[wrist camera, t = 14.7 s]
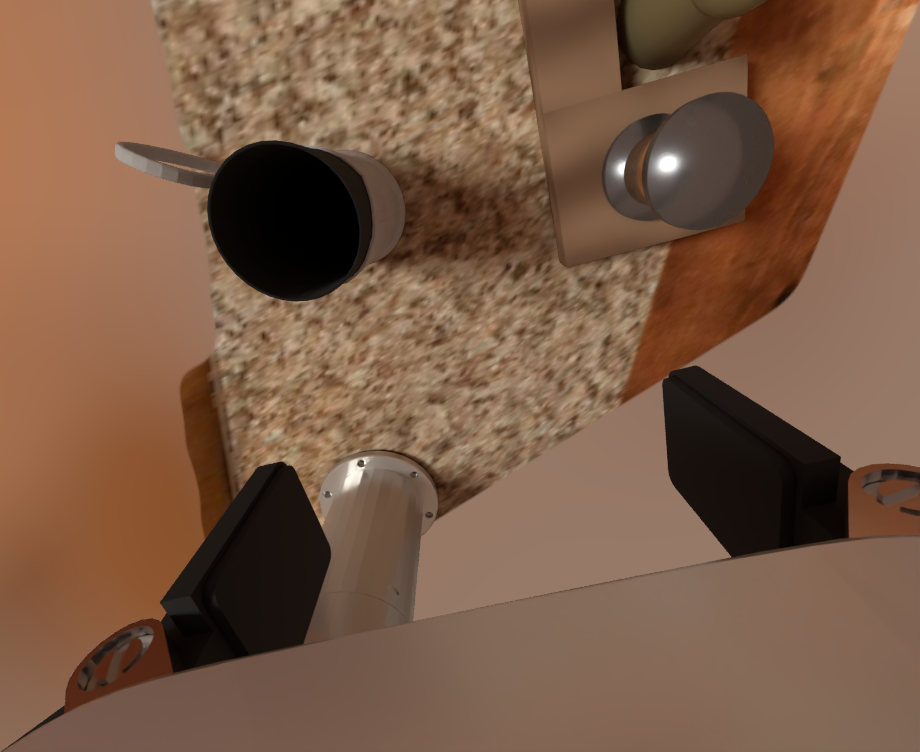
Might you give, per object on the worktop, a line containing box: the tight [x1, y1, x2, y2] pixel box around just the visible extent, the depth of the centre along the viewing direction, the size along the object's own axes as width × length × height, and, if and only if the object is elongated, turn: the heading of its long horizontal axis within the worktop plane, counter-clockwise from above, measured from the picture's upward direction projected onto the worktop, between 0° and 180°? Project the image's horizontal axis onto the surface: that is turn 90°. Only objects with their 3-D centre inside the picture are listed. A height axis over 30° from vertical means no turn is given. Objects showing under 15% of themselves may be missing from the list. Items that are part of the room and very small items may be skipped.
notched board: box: [518, 0, 748, 267], centre depth 30 cm, size 22×14×2 cm, turn 14°
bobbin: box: [602, 92, 774, 230], centre depth 28 cm, size 7×7×8 cm
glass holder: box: [115, 140, 406, 301], centre depth 27 cm, size 9×14×15 cm, turn 68°
